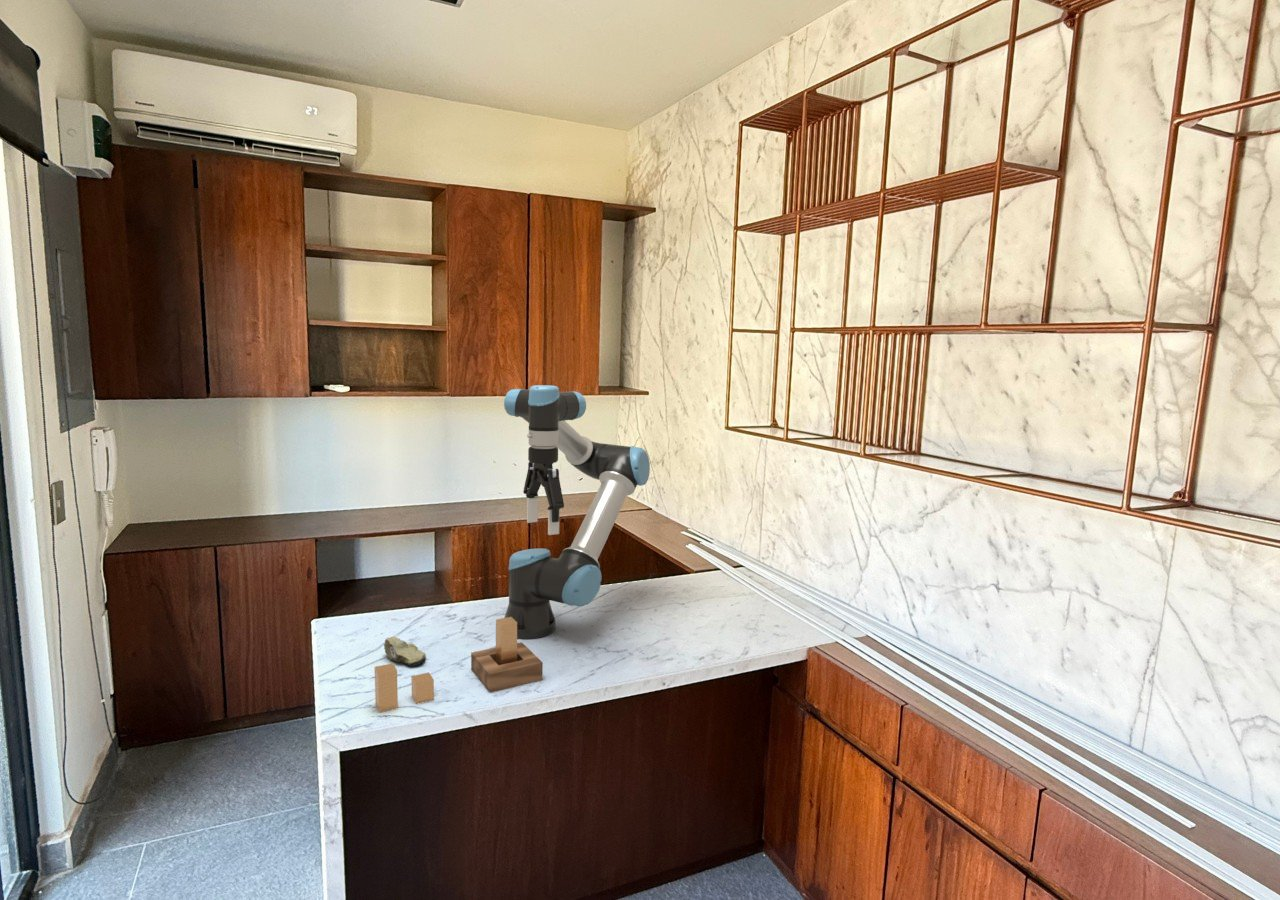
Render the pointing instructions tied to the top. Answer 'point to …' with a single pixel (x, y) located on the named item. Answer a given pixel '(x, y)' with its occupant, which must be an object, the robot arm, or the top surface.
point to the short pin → (422, 687)
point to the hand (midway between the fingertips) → (542, 528)
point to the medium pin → (386, 687)
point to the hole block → (506, 669)
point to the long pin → (506, 640)
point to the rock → (403, 652)
